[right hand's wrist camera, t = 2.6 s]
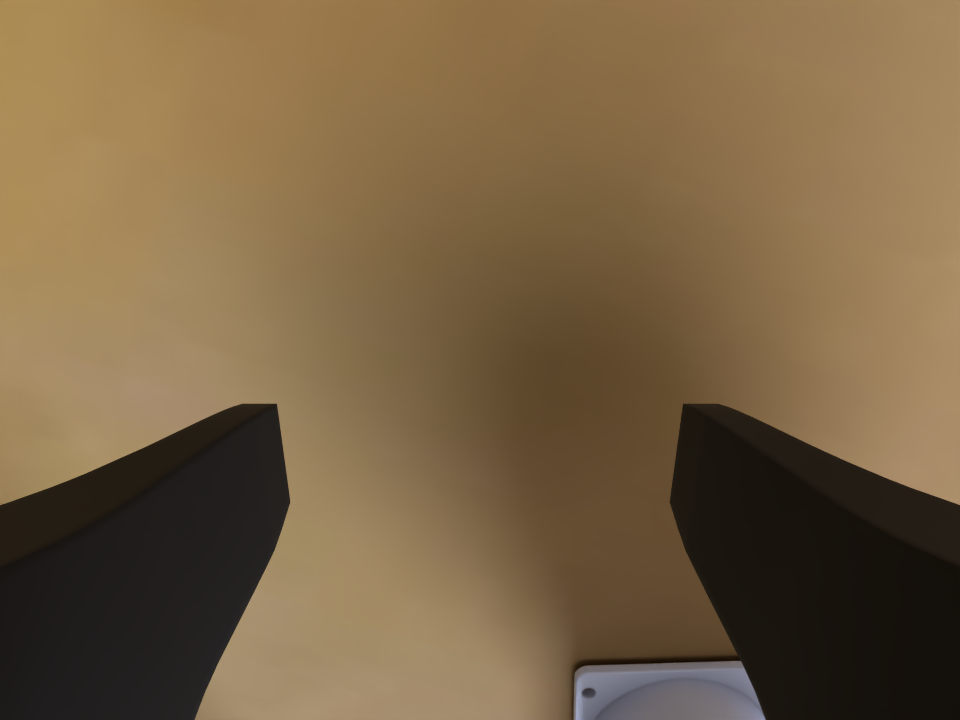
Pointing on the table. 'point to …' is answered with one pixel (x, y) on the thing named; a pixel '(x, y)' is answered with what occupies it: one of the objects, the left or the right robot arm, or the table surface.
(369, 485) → the table surface
